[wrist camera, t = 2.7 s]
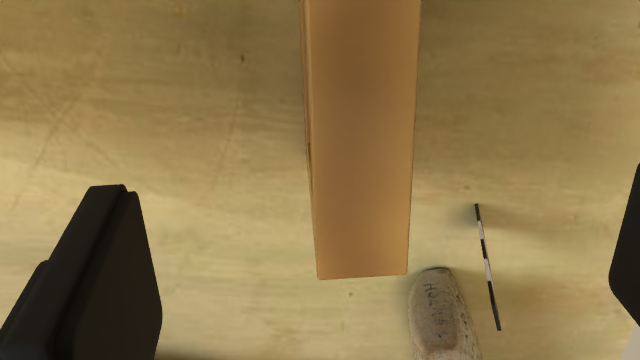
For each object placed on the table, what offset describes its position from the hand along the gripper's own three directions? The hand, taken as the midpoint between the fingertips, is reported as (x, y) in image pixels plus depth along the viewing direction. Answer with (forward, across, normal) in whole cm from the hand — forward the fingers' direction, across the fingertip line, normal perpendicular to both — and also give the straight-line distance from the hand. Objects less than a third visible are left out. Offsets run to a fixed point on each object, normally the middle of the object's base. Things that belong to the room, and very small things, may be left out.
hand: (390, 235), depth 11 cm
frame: (+15, 0, 0) cm, 15 cm away
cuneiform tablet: (+15, -6, +15) cm, 23 cm away
